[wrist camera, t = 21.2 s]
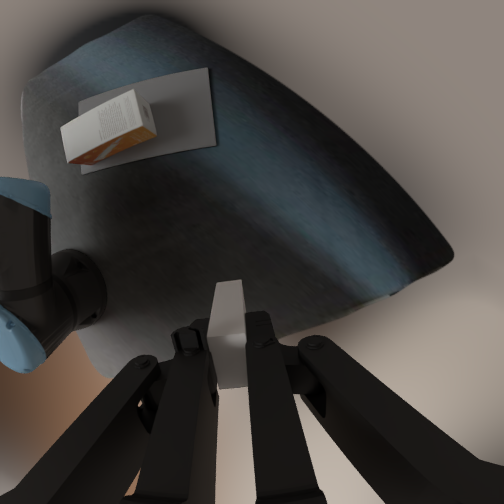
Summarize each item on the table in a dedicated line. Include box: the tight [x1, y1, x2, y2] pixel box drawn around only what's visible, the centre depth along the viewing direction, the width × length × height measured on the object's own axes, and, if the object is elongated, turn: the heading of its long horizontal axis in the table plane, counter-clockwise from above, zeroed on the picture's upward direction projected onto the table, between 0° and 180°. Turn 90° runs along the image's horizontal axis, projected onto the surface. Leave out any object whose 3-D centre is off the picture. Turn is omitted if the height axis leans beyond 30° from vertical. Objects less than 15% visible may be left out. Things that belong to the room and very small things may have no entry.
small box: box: [61, 89, 157, 165], centre depth 35 cm, size 8×6×13 cm
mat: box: [79, 68, 217, 175], centre depth 39 cm, size 24×14×1 cm, turn 97°
